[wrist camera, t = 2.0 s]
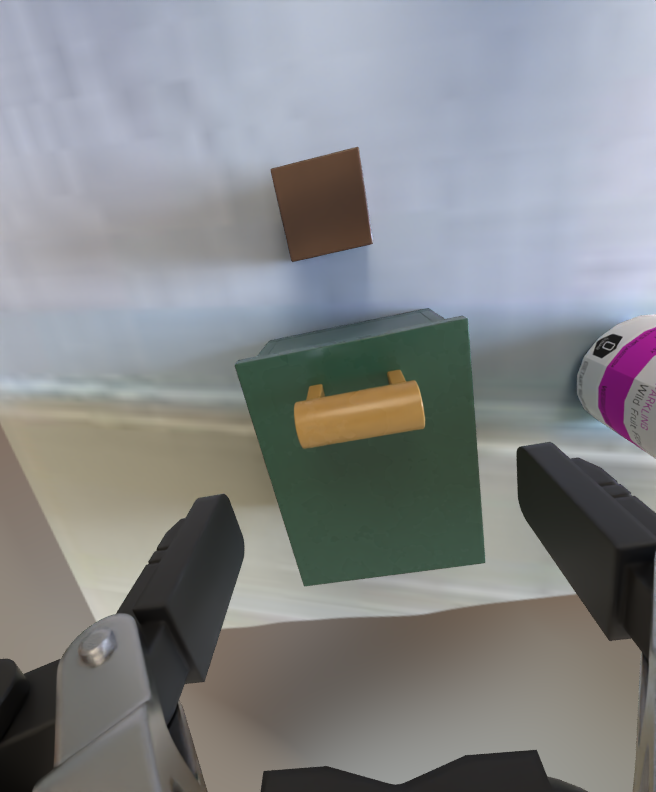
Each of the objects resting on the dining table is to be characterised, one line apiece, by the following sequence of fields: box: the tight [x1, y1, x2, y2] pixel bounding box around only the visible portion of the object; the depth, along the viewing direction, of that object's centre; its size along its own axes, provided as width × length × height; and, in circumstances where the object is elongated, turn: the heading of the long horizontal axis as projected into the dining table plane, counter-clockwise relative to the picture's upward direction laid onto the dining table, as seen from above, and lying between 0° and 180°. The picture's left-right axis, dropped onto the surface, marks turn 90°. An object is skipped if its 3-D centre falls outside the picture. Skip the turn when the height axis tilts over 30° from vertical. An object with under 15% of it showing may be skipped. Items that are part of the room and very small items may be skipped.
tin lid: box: [235, 316, 485, 586], centre depth 19 cm, size 15×12×6 cm
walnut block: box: [271, 147, 373, 262], centre depth 22 cm, size 5×5×5 cm
